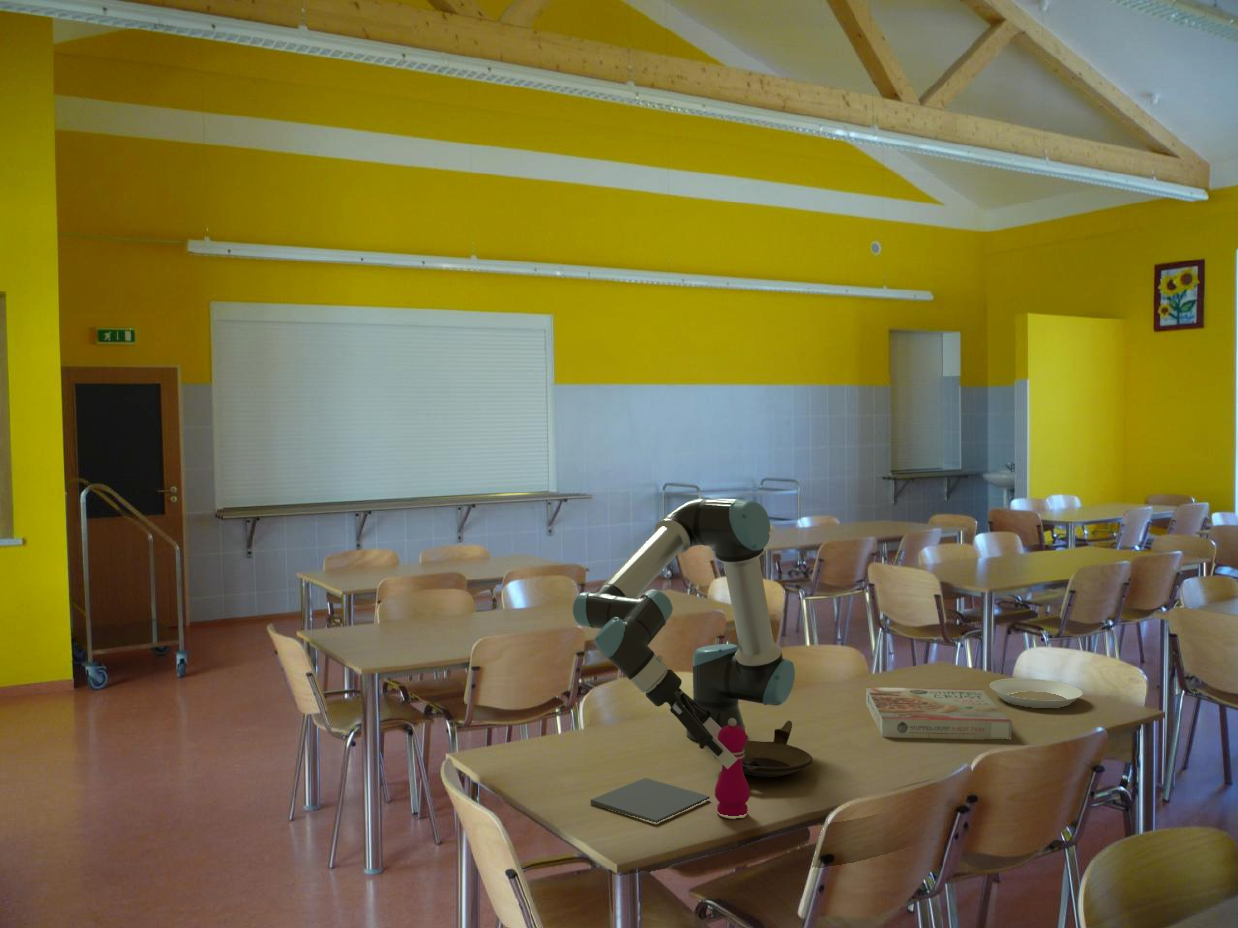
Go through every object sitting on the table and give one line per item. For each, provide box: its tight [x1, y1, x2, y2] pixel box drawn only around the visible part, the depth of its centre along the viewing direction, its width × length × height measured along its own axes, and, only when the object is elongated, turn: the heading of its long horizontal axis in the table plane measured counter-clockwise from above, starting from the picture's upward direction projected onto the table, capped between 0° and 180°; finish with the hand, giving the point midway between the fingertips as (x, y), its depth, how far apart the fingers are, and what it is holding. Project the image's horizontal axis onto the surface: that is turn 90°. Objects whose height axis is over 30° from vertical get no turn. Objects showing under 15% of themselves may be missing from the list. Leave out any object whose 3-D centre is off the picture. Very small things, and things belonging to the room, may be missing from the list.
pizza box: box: [865, 686, 1013, 740], centre depth 285 cm, size 32×5×32 cm
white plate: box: [989, 677, 1084, 709], centre depth 305 cm, size 25×25×4 cm
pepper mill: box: [714, 718, 751, 816], centre depth 218 cm, size 7×7×20 cm
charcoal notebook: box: [590, 777, 711, 823], centre depth 225 cm, size 18×18×1 cm
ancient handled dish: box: [713, 719, 814, 778], centre depth 246 cm, size 22×30×8 cm
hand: (729, 753), depth 218 cm, fingers open, 13 cm apart
